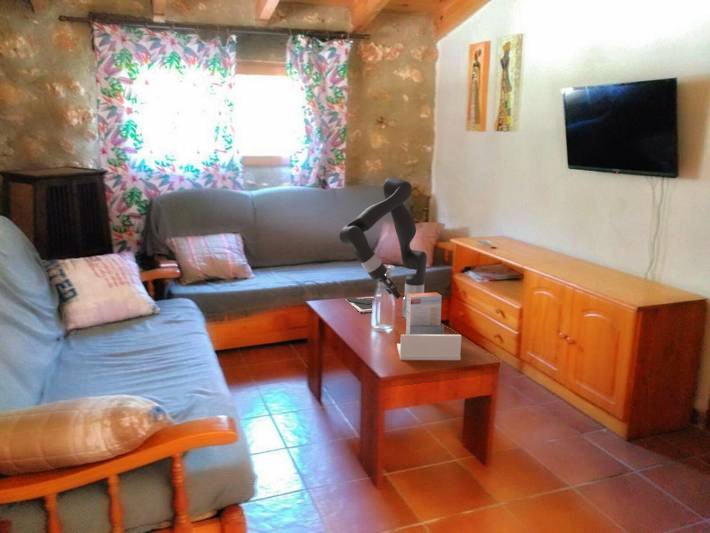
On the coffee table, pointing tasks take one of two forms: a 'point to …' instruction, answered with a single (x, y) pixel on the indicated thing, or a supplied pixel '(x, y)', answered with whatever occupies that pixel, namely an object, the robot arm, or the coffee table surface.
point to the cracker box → (423, 309)
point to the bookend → (427, 329)
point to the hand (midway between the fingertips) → (395, 295)
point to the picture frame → (361, 303)
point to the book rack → (429, 347)
